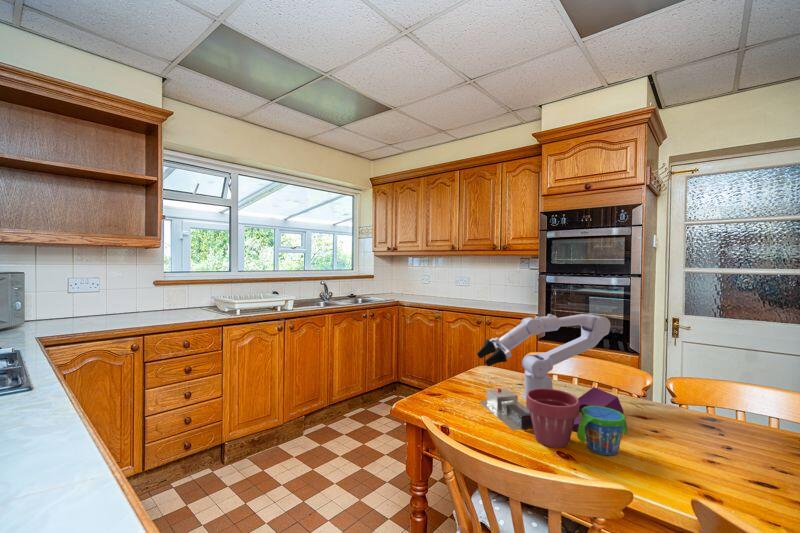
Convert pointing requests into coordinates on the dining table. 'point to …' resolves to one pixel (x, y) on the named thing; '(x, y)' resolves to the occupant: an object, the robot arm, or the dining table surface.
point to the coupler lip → (511, 415)
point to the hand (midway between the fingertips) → (482, 360)
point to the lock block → (501, 397)
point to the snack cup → (602, 429)
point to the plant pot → (552, 415)
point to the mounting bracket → (597, 402)
